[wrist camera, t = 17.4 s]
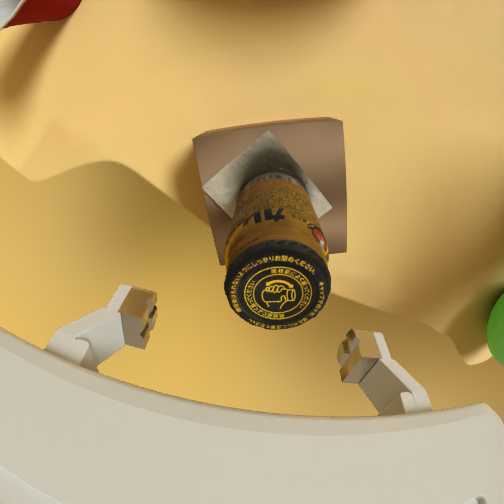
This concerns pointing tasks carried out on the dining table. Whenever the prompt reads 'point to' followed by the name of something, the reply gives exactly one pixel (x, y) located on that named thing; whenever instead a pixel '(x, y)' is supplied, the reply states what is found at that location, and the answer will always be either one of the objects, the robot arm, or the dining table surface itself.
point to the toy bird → (496, 330)
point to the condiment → (272, 237)
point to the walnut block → (303, 152)
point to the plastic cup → (34, 11)
